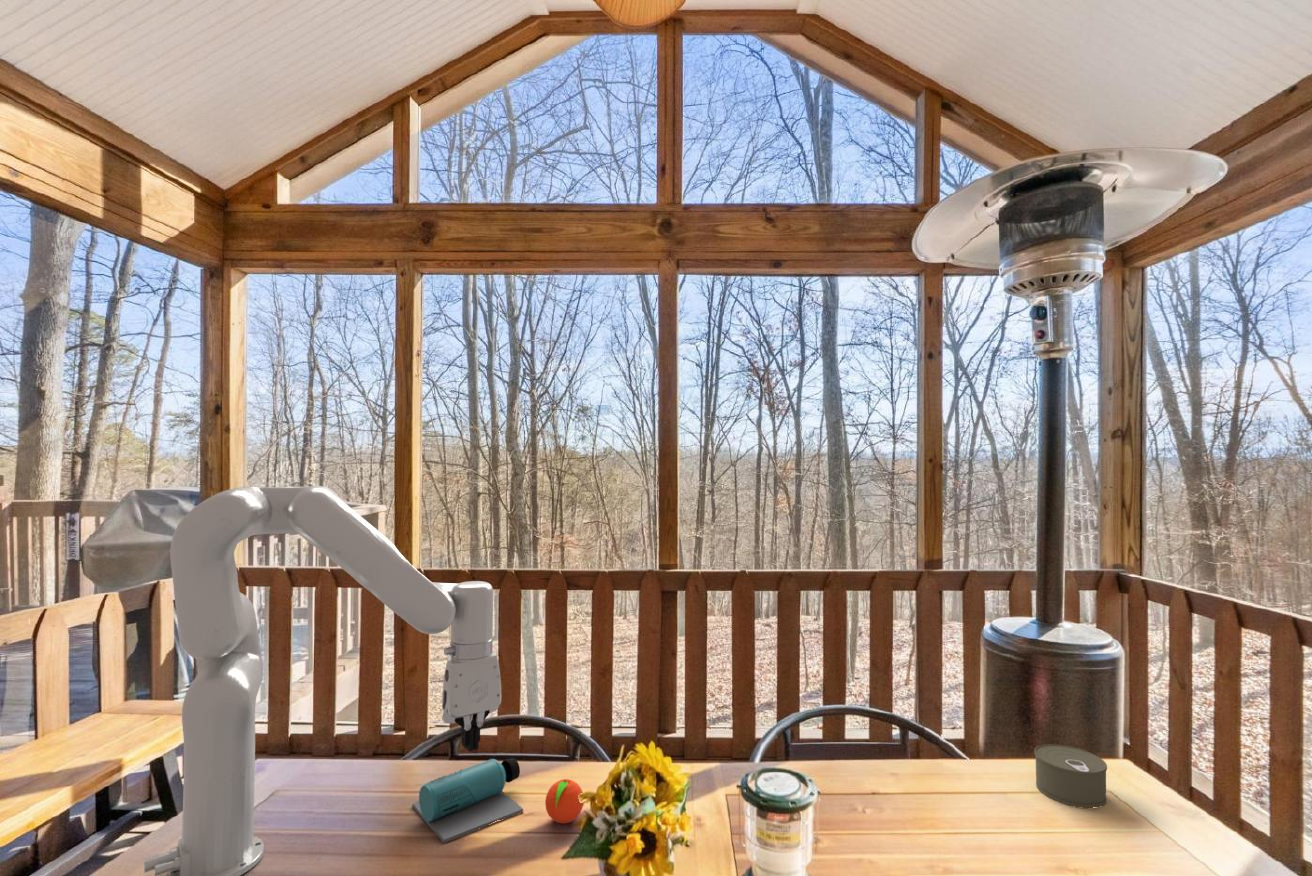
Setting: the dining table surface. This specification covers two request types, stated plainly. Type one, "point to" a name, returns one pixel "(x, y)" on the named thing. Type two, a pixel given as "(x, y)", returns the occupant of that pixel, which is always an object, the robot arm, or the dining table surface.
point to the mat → (472, 816)
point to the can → (1070, 775)
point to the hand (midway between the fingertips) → (470, 747)
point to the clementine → (564, 801)
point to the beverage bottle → (465, 787)
